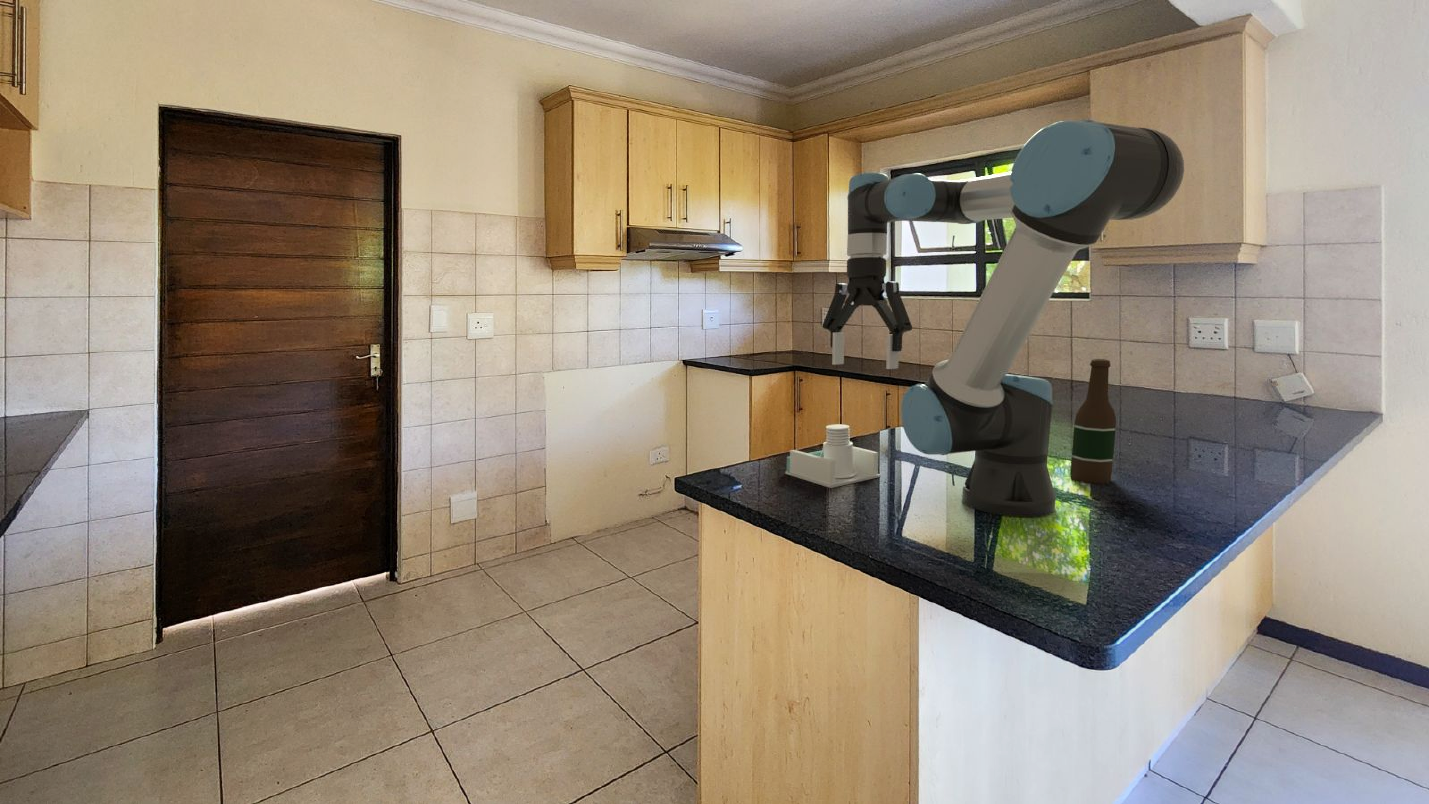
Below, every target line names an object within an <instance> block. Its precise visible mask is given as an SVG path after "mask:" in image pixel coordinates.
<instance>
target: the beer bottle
mask: <svg viewBox="0 0 1429 804" xmlns="http://www.w3.org/2000/svg"><path fill="white" fill-rule="evenodd" d="M1089 365H1090V374H1089V379H1088V380H1089V382H1088V386H1087V387H1088V388H1087V393H1086V397H1085V399H1084V401H1083V402H1081V404H1080V405H1079V407H1078V409H1077V411H1076V414H1075V417H1074V418H1075V419H1074V425H1073V433H1072V434H1073V436H1072V446H1071V448H1072V449H1071V458H1070V459H1071V460H1070V476H1069V477H1070V479H1071V480H1074V481H1077V482H1080V483H1083V484H1084V483H1085V484H1096V485H1103V484H1110V482H1111V479H1112V473H1113V464H1114V463H1113V462H1114V452H1115V440H1116V430H1117V429H1116V428H1117V417H1116V413H1115V409H1114V408H1113V406H1112V404H1111V402H1110V401H1109V399H1110V398H1109V374H1110V373H1109V368H1110V367H1111V362H1110V360H1109V359H1104V358H1103V359H1101V358H1093V359H1091V361H1090V363H1089Z"/></svg>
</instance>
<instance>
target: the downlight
mask: <svg viewBox="0 0 1429 804" xmlns="http://www.w3.org/2000/svg"><path fill="white" fill-rule="evenodd" d="M825 428H826V429H825V435H826V441H824V442H823V443H822V444H823V445H822V450H821V451H823V450H824V458H826V459H830V460H834V461H835V478H849V477H853V476H855V475H856V472H855V469H856V465H857V462H858V459H859V454H858V459H857V462H856V465H855V469H854V471H853V446H854V445H853V444H854V443H853V441H850V437H851V435H850V431H851V430H850V425H848V424H840V423H839V424H838V423H837V424H834V423H833V424H829V425H826V426H825ZM821 454H822V452H821ZM820 457H821V455H820Z"/></svg>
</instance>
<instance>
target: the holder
mask: <svg viewBox="0 0 1429 804" xmlns="http://www.w3.org/2000/svg"><path fill="white" fill-rule="evenodd" d="M821 452H822V454H821ZM858 454H859V459H858ZM820 455H821V457H820ZM857 459H858V462H857ZM856 462H857V465H856ZM855 465H856V469H855ZM854 469H855V472H856V475H855V476H853V477H849V478H835V461H834V460H830V459H826V458H824V449H823V451H822V450H817V451H812V452H804V451H801V450H796V449H792V450H791V449H790V450H789V456H786V470H785V472H784V473H785V475H789V476H791V477H794V478H799V479H801V480H805V481H808V482H810V483H814V484H817V485H821V486H823V487H826V488H829V489H832V488H837V487H842V486H846V485H850V484H854V483H859V482H860V483H861V482H863V481H868V480H872V479H876V478H880V477H881V474H879V473H878V471H879V451H878V452H877V451H874V450H871V449H865V448H862V447H856V446H854V445H853V471H854Z"/></svg>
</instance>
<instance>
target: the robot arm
mask: <svg viewBox="0 0 1429 804" xmlns="http://www.w3.org/2000/svg"><path fill="white" fill-rule="evenodd" d="M1184 161H1185V160H1184V157H1183V153H1182V151H1181V149H1180V148H1179V146H1178V144H1176V141H1174V140H1173V139H1172V138H1171V137H1170V136H1168V135H1167V134H1165V133H1162V132H1161V131H1159V130H1156V129H1152V128H1146V127H1137V126H1136V127H1134V126H1126V125H1119V124H1113V123H1106V122H1097V121H1095V120H1093V119H1092V120H1091V119H1083V120H1081V119H1080V120H1061V121H1057V122H1054V123H1051V124H1050V125H1048V126H1045V127H1043V128H1041V129H1040V130H1038V131H1037V132H1036V133H1035V134H1034V135H1032V136H1031V137H1030V138H1029V139H1028V140H1027V142H1026V143H1024V145H1023V146H1022V148H1020V150H1019V153H1018V154H1017V156H1016V158H1015V159H1014V162H1013V165H1012V167H1011V171H1008V172H1002V173H996V174H991V175H984V176H979V177H973V178H967V179H960V180H951V179H949V180H948V179H947V180H946V179H943V180H942V179H935V178H934V179H933V178H928V177H927V176H926V175H924V174H923V173H918V172H916V173H915V172H914V173H910V174H909V173H905V174H902V175H900V176H899V175H898V176H897V177H893V178H890V179H889V177H888V175H887V174H885V173H882V172H864V173H858V174H855V175H852V177H850V179H849V181H848V194H847V198H846V199H847V241H846V242H847V243H846V245H847V247H846V255H847V256H848V257H849V258H847V260H846V277H847V278H848V283H846V282H845V283H844V282H843V283H841V282H839V283H838V282H836V283H835V285H834V295H833V297H832V300H831V302H830V304H829V307H828V310H827V313H826V316H825V318H824V320H823V322H822V328H823V329H824V330H828V331H829V332H830V341H829V342H830V343H829V344H830V348H831V349H832V352H831V353H832V355H831V356H832V357H831V358H832V359H831V360H832V363H831V364H832V365H834V366H835V365H836V366H837V365H844V364H845V332H843V331H844V330H843V329H844V327H845V325H846V324H847V322H849V320H850V318H851V317H852V316H853V313H854V312H855V310H856V309H857V308H858V307H860V306H862V307H863V306H864V307H865V306H868V307H869V306H870V307H873V308H874V309H875V310H876V311H877V313H878V315H879V316H880V318H881V319H882V320H883V323H884V324H885V325H886V327H887V328H888V331H889V332H888V334H887V335H886V363H885V364H886V370H895V369H899V357H900V352H901V351H902V350H903V335H904V334H905V333H907V332H910V331H912V329H913V325H912V324H911V323H912V322H911V320H910V317H909V315H908V312H907V310H906V307H905V305H904V302H903V299H902V297H901V294H900V283H899V282H898V281H887V282H885V277H886V275H887V259H886V258H885V257H884V256H886V255H887V252H888V251H887V249H888V245H887V244H888V243H887V242H888V223H893V222H903V221H904V222H929V223H950V224H951V223H952V224H958V225H959V224H960V225H971V224H978V223H981V222H982V221H989V220H1001V219H1013V221H1014V224H1015V228H1014V230H1013V231H1012V234H1011V235H1010V238H1009V240H1008V242H1007V243H1006V246H1005V248H1004V249H1003V252H1002V254H1001V256H1000V258H999V259H998V262H997V264H996V265H995V268H994V269H993V271H992V273H991V275H990V277H989V278H988V279H989V280H988V282H987V284H986V285H985V287H984V289H983V290H982V293H981V295H980V296H979V300H978V301H977V303H976V305H975V307H974V309H973V311H972V313H971V315H970V317H969V319H968V321H967V323H966V325H965V327H964V329H963V330H962V333H961V335H960V337H959V339H958V341H957V343H956V344H955V347H954V348H953V351H952V353H951V354H950V357H949V358H948V359H946V360H945V359H944V360H942V361H940V362H937V363H936V364H935V365H934V367H933V368H932V371H931V373H930V375H929V377H928V379H927V380H926V382H925V383H924V384H923V383H916V384H915V385H911V386H910V387H908V388H907V389H906V390H905V392H904V394H903V396H902V399H901V404H900V419H901V423H902V428H903V430H904V433H905V435H906V437H907V439H908V441H909V442H910V444H911V445H912V446H913V448H915V449H916V450H917V451H919V452H920V453H922V454H924V455H931V456H932V455H935V456H937V455H938V456H939V455H940V456H947V455H951V454H958V453H960V454H961V453H967V452H968V453H969V452H975V453H974V454H975V455H974V456H975V457H974V460H973V463H972V465H971V467H970V470H969V472H968V475H967V476H966V479H965V481H964V484H963V485H962V486H963V487H962V492H961V493H962V494H961V501H962V502H963V504H964V505H966V506H968V507H969V508H972V509H974V510H978V511H979V512H980V511H981V512H984V513H989V514H993V515H999V516H1006V517H1015V518H1016V517H1017V518H1036V517H1043V516H1047V515H1050V514H1052V513H1054V512H1055V510H1056V493H1055V490H1054V486H1053V483H1052V479H1051V475H1050V472H1049V468H1048V456H1049V455H1048V453H1049V445H1050V432H1051V425H1052V424H1051V422H1052V410H1053V406H1054V403H1053V402H1054V401H1053V387H1052V383H1050V382H1049V380H1047V379H1045V378H1038V377H1034V376H1033V377H1032V376H1026V375H1025V376H1024V375H1018V374H1009V373H1008V372H1009V370H1010V368H1011V366H1012V364H1013V363H1014V362H1015V360H1016V358H1017V356H1018V354H1019V353H1020V350H1021V349H1022V348H1023V346H1024V344H1025V342H1026V340H1027V339H1028V337H1029V335H1030V334H1031V332H1032V330H1033V328H1034V327H1035V325H1036V324H1037V321H1038V319H1039V318H1040V316H1041V314H1042V313H1043V311H1044V309H1045V308H1046V306H1047V304H1048V303H1049V300H1050V298H1051V297H1052V295H1053V294H1054V292H1055V290H1056V288H1057V287H1058V285H1059V284H1060V281H1061V280H1062V278H1063V276H1064V275H1065V273H1066V271H1067V269H1068V268H1069V266H1070V264H1071V262H1072V261H1073V259H1074V257H1075V255H1076V254H1077V252H1078V251H1079V250H1082V249H1086V248H1090V247H1092V246H1095V245H1096V243H1097V242H1098V240H1099V238H1100V237H1101V234H1102V233H1103V231H1104V230H1105V228H1106V227H1107V225H1108V223H1109V221H1110V220H1111V221H1112V220H1116V221H1119V220H1120V221H1123V220H1129V221H1130V220H1135V219H1136V220H1137V219H1141V218H1145V217H1147V216H1150V215H1152V214H1155V213H1156V212H1158V211H1159V210H1161V209H1162V208H1163V207H1165V206H1167V204H1168V203H1170V201H1171V200H1172V199H1173V198H1174V197H1175V196H1176V194H1177V192H1178V191H1179V189H1180V187H1181V184H1182V181H1183V178H1184V174H1185V162H1184ZM884 293H885V294H886V297H887V299H886V297H885V296H884ZM848 294H849V295H848ZM888 303H889V305H888Z"/></svg>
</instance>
